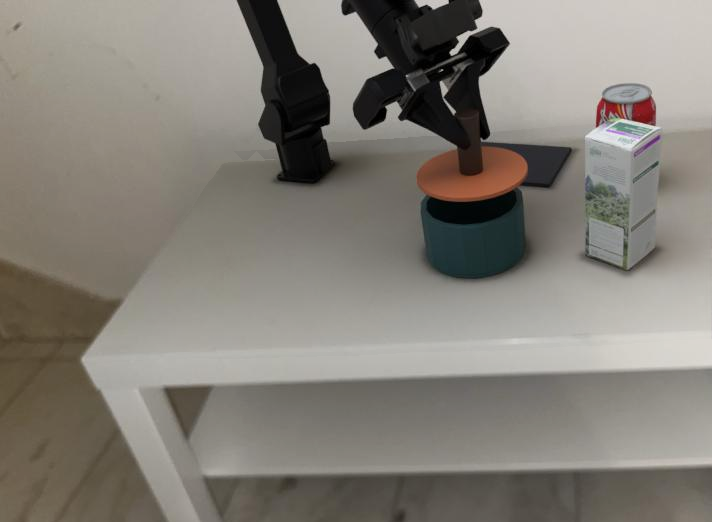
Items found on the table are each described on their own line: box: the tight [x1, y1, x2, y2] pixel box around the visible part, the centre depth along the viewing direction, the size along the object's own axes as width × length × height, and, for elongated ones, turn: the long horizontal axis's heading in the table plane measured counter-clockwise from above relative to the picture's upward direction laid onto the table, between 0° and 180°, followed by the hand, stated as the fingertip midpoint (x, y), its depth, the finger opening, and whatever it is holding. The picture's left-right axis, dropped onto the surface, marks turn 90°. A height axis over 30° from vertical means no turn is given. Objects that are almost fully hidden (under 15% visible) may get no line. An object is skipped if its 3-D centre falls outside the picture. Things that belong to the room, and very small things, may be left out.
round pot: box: [419, 186, 527, 279], centre depth 87 cm, size 11×11×6 cm
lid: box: [415, 109, 528, 202], centre depth 82 cm, size 12×12×8 cm
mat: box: [481, 141, 572, 188], centre depth 106 cm, size 14×11×1 cm
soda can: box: [595, 82, 657, 128], centre depth 94 cm, size 7×7×12 cm
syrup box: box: [584, 117, 663, 271], centre depth 81 cm, size 6×6×14 cm
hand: (477, 142), depth 81 cm, fingers closed on lid, 2 cm apart
